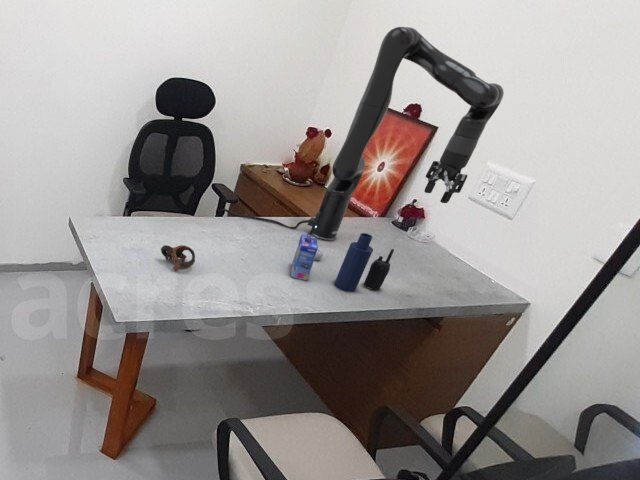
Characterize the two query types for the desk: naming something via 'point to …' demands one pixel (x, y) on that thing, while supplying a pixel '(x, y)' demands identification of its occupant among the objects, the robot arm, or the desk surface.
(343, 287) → the bottle
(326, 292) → the desk surface
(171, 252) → the brown curled piece
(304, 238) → the ink cartridge box
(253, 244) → the desk surface
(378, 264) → the two-way radio
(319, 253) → the smooth white sculpture
